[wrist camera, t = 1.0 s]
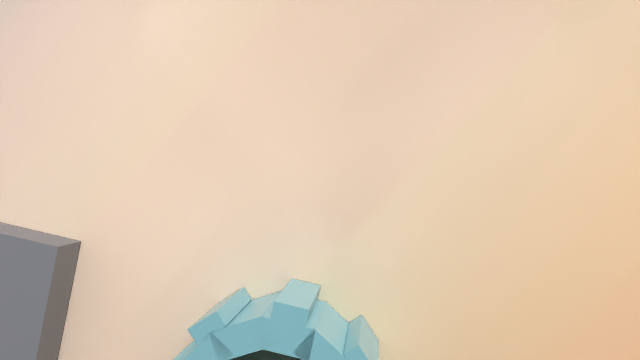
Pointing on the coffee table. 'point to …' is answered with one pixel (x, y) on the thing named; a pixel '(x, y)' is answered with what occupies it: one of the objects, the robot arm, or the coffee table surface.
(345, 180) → the coffee table surface
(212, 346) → the teal gear
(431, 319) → the coffee table surface
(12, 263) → the gear board
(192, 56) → the coffee table surface
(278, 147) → the coffee table surface
